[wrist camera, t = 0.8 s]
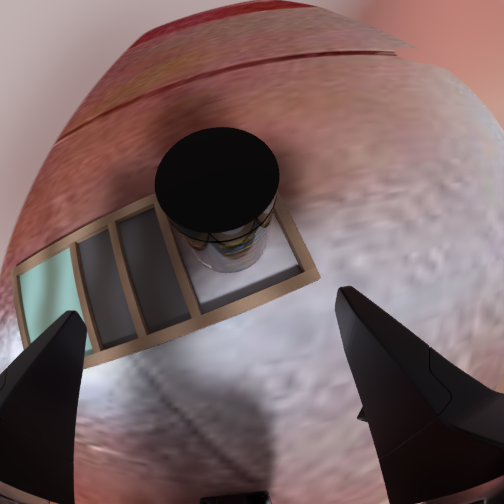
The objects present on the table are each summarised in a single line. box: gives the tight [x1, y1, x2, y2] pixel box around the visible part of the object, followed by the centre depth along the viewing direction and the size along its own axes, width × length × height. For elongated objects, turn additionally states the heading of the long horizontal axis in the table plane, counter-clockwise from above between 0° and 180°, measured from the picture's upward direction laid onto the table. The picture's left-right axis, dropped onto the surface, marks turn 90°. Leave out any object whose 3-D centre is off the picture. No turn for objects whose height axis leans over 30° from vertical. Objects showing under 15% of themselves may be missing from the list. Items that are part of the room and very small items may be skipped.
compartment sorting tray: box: [11, 190, 321, 369], centre depth 22 cm, size 31×13×1 cm, turn 113°
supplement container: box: [155, 127, 279, 273], centre depth 19 cm, size 7×7×10 cm
